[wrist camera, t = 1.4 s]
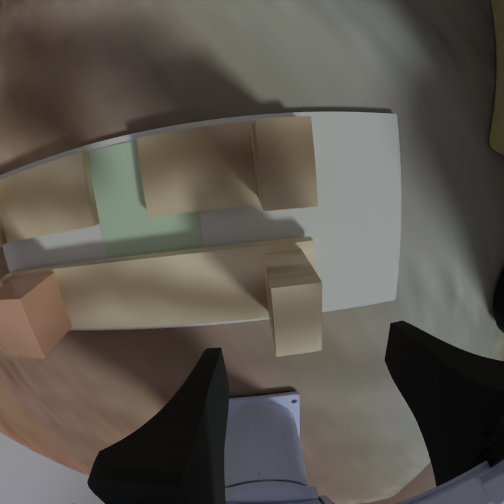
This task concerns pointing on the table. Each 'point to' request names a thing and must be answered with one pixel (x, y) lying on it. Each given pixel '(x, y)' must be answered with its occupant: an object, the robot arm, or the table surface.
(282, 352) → the beige wooden beam
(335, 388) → the table surface
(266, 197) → the broken strip
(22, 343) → the cube
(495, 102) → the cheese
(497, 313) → the coffee jar
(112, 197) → the mat
